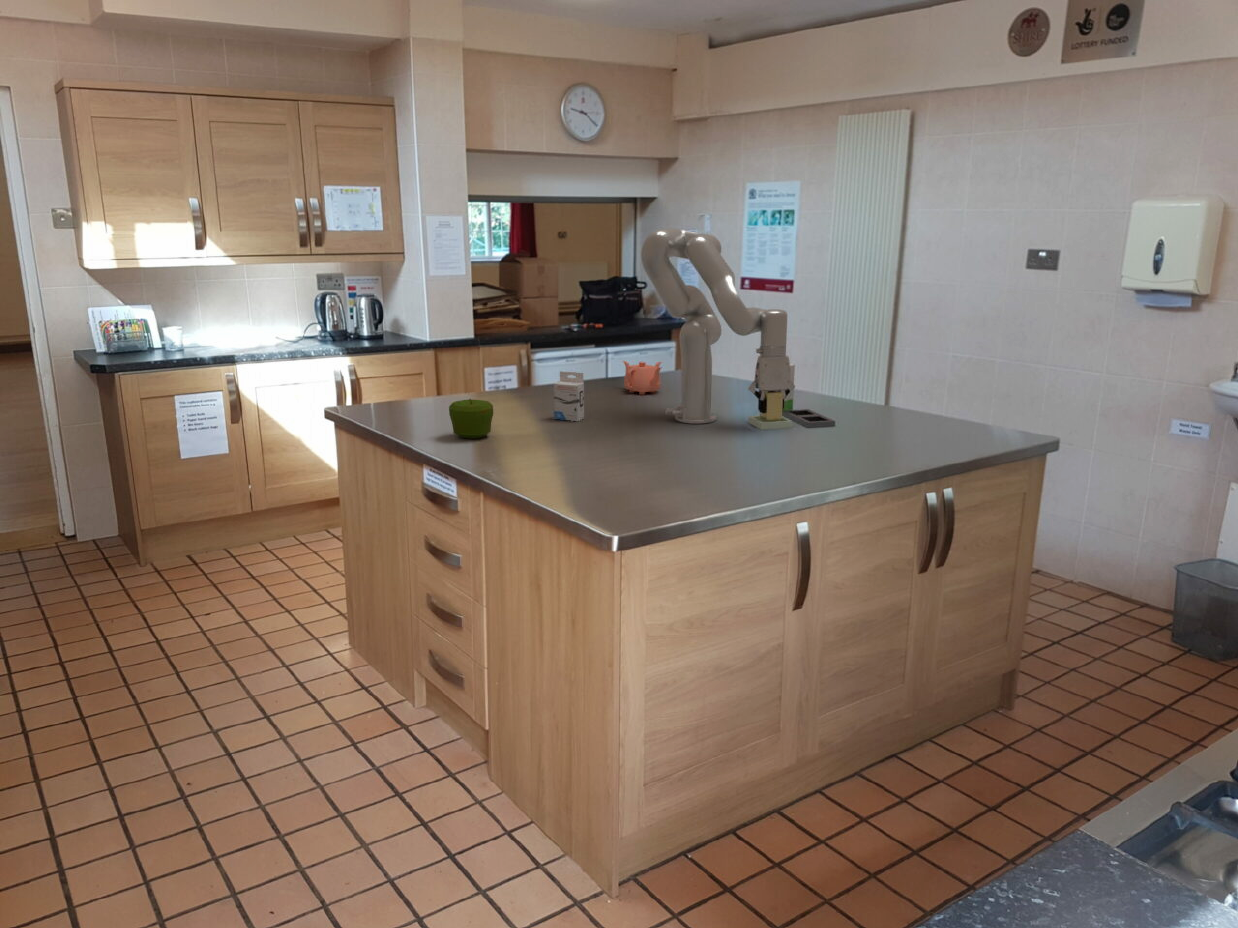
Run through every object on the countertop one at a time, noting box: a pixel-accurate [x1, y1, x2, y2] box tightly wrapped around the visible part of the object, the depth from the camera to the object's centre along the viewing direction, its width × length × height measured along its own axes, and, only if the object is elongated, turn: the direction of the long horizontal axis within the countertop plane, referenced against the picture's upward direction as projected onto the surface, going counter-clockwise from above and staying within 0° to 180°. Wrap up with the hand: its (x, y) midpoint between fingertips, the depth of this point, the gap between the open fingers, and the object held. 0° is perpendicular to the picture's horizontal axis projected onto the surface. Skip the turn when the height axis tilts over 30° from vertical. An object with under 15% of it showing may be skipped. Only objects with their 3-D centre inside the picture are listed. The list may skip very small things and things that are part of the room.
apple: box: [448, 398, 494, 439], centre depth 267 cm, size 12×12×11 cm
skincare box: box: [783, 363, 796, 411], centre depth 299 cm, size 8×7×16 cm
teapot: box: [622, 360, 663, 396], centre depth 332 cm, size 14×14×11 cm
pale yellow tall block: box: [759, 390, 783, 421], centre depth 278 cm, size 5×5×9 cm
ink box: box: [553, 371, 585, 422], centre depth 288 cm, size 8×5×15 cm, turn 69°
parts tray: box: [747, 415, 794, 431], centre depth 280 cm, size 10×10×2 cm
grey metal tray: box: [782, 408, 836, 429], centre depth 285 cm, size 9×18×2 cm, turn 15°
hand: (770, 411), depth 279 cm, fingers closed on pale yellow tall block, 5 cm apart
